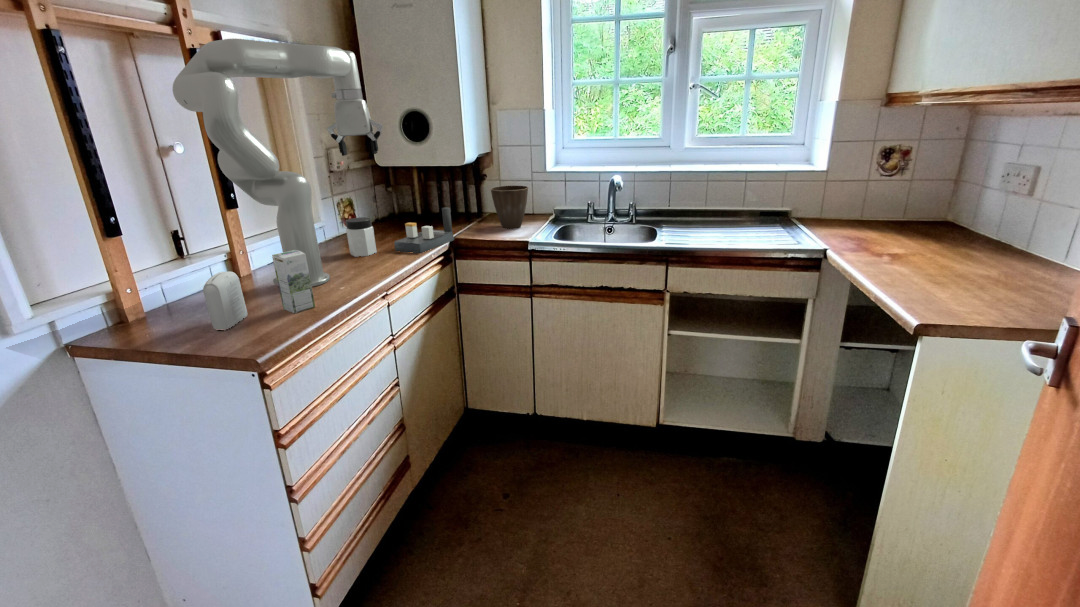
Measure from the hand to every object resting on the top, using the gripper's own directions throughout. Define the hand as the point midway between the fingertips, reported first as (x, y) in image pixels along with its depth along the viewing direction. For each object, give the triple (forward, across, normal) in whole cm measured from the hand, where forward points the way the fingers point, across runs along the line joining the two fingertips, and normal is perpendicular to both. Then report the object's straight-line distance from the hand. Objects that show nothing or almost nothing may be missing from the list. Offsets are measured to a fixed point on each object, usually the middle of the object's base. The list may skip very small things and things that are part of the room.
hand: (359, 154), depth 164 cm
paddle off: (+31, +16, +9) cm, 35 cm away
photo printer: (+32, -18, -57) cm, 68 cm away
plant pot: (+36, +43, +40) cm, 69 cm away
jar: (+34, -7, +5) cm, 35 cm away
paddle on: (+31, +9, +12) cm, 34 cm away
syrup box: (+32, -5, -48) cm, 58 cm away
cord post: (+35, +20, +21) cm, 46 cm away
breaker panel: (+34, +13, +14) cm, 39 cm away
